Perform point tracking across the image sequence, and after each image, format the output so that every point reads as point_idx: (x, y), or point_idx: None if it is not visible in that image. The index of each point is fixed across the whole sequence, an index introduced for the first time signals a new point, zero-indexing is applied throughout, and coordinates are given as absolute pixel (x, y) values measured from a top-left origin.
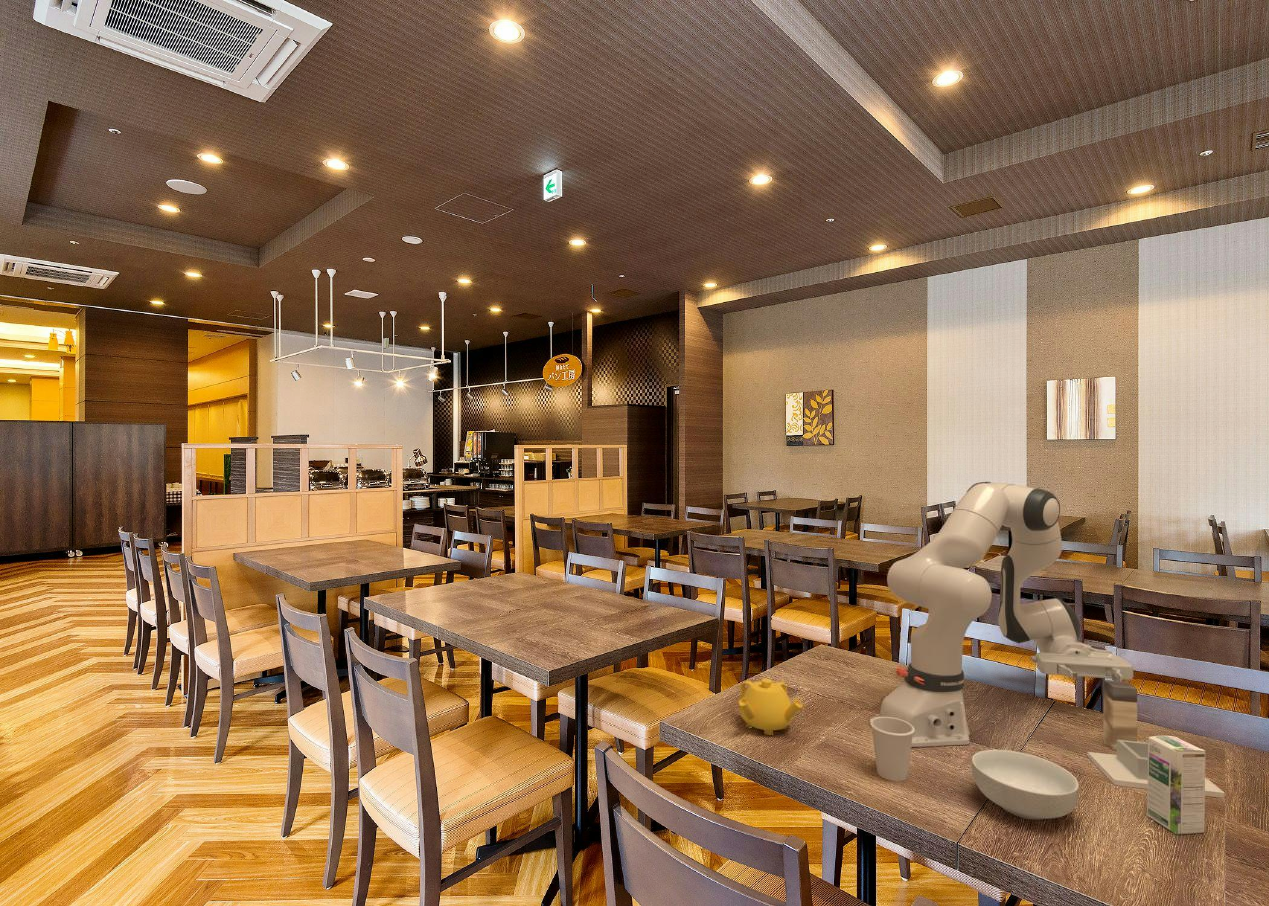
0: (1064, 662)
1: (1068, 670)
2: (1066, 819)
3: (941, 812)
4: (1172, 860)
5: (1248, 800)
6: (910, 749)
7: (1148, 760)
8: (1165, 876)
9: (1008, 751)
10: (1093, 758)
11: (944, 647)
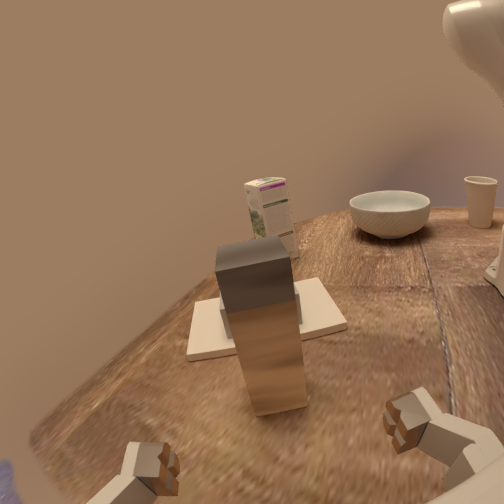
0: (482, 471)
1: (435, 405)
2: (360, 234)
3: (429, 214)
4: (296, 233)
5: (171, 313)
6: (468, 197)
7: (289, 202)
8: (304, 225)
9: (412, 210)
10: (338, 309)
11: None
